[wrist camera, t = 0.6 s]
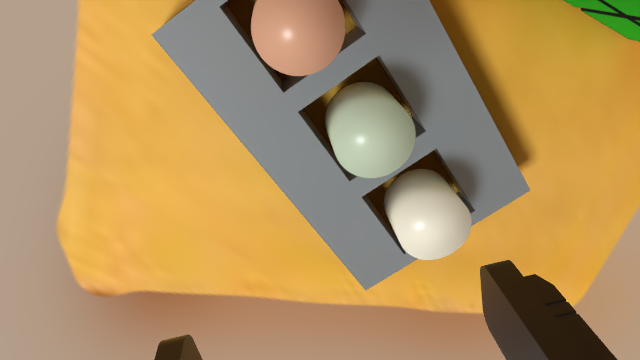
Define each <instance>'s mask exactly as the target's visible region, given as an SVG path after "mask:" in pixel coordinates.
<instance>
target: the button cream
mask: <svg viewBox="0 0 640 360" xmlns="http://www.w3.org/2000/svg"><path fill="white" fill-rule="evenodd" d="M384 209H385V212H386V215H387V217H388V219H389V221H390V223H391V225H392V227H393V229H394V231H395V234H396V236H397V238H398V240H399V242H400V244H401V246H402V248H403V249H404V250H405V251H406V252H407V253H408V254H410V255H411V256H413V257H415V258H418V259H423V260H435V259H439V258H443V257H445V256H448V255H450V254H451V253H453V252H454V251H456V250H457V249H458V248H459V247H460V246H461V245H462V244H463V243H464V242H465V241H466V239H467V237H468V235H469V233H470V230H471V224H472V220H471V215H470V212H469V210H468V208H467V207H466V205H465V204H464V203H463V202H462V200H461V199H460V198H459V197H458V195H457V194H456V193H455V192H454V191H453V189H452V188H451V187H450V186H449V184H448V183H447V182H446V181H445V179H444V178H443V177H442V176H441V175H440V174H438V173H436V172H434V171H432V170H428V169H415V170H410V171H408V172H405V173H403V174H401V175H400V176H398V177H397V178H396V179H395V180H394V181H393V182H392V183H391V184H390V186H389V187H388V189H387V191H386V193H385V196H384Z"/></svg>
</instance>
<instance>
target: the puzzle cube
mask: <svg viewBox="0 0 640 360" xmlns="http://www.w3.org/2000/svg"><path fill="white" fill-rule="evenodd" d="M564 1H566V2H567V3H569V4H571V5H572V6H574V7H580V8H581V11H583V12H584V13H586V14H588V15H589V16H591V17H593V18H594V19H596V20H598V21H599V22H601V23H603V24H604V25H606V26H608V27H609V28H611V29H613V30H614V31H616V32H618V33H619V34H621V35H623V36H624V37H626V38H628V39H631V40H635V41H639V42H640V0H564Z"/></svg>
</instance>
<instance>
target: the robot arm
mask: <svg viewBox="0 0 640 360" xmlns="http://www.w3.org/2000/svg"><path fill="white" fill-rule="evenodd" d="M480 277H481V291H482V304H483V313H484V317H485V320H486V323H487V325H488V328H489V330H490V332H491V334H492V336H493V337H494V339H495V340H496V343H497V344H498V346H499V348H500V349H501V351H502V353H503V355H504V356H505V358H506V360H617V359H616V358H615V356H614V355H613V354H612V353H611V352H610V351H609V350H608V348H607V347H606V346H605V345H604V344H603V342H602V341H601V340H600V339H599V338H598V336H597V335H596V334H595V333H594V332H593V331H592V329H591V328H590V327H589V326H588V325H587V324H586V322H585V321H584V320H583V319H582V318H581V317H580V315H579V314H576V311H575V310H574V309H573V307H572V306H571V305H570V304H569V303H568V302H566V299H565V298H564V297H563V296H562V294H561V293H560V292H559V291H558V290H557V289H556V287H555V286H554V285H553V284H551V283H549V282H548V281H546V280H544V279H542V278H541V277H539V276H537V275H536V274H533V275H529V276H525V277H523V275H522V274H521V273H520V272H519V270H518V269H517V268H516V266H515V265H514V264H513V263H512V262H511V261H510V260H506V261H502V262H497V263H493V264H489V265H485V266H481V268H480ZM154 360H202V358H201V355H200V353H199V351H198V349H197V347H196V345H195V342H194V340H193V338H192V337H191V336H190V335H184V336H180V337H176V338H171V339H167V340H163V341H161V342H160V343H159V345H158V349H157V352H156V356H155V359H154Z"/></svg>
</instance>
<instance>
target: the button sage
mask: <svg viewBox="0 0 640 360" xmlns="http://www.w3.org/2000/svg"><path fill="white" fill-rule="evenodd" d="M325 126H326V130H327V133H328V136H329V139H330V141H331V144H332V147H333V150H334V152H335V155H336V157H337V160H338V161H339V163H340V164H341V165H342V166H343V167H344V168H345V169H346V170H347V171H348V172H350V173H352V174H354V175H356V176H359V177H363V178H378V177H383V176H386V175H388V174H391V173H392V172H394V171H396V170H397V169H398V168H400V167H401V166H402V165H403V164H404V163H405V162H406V161H407V159H408V158H409V156H410V155H411V153H412V151H413V148H414V144H415V138H416V132H415V126H414V123H413V120H412V118H411V117H410V115H409V114H408V112H407V111H406V110H405V109H404V108H403V107H402V106H401V105H400V104H399V103H398V101H397V100H396V99H395V98H394V97H393V96H392V95H391V94H390V93H389V92H388V91H387V90H386V89H385V88H384V87H382V86H380V85H378V84H375V83H371V82H357V83H353V84H350V85H348V86H346V87H344V88H342V89H341V90H340V91H338V92H337V93H336V94H335V95H334V96H333V98H332V99H331V101H330V102H329V104H328V107H327V109H326V113H325Z"/></svg>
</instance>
